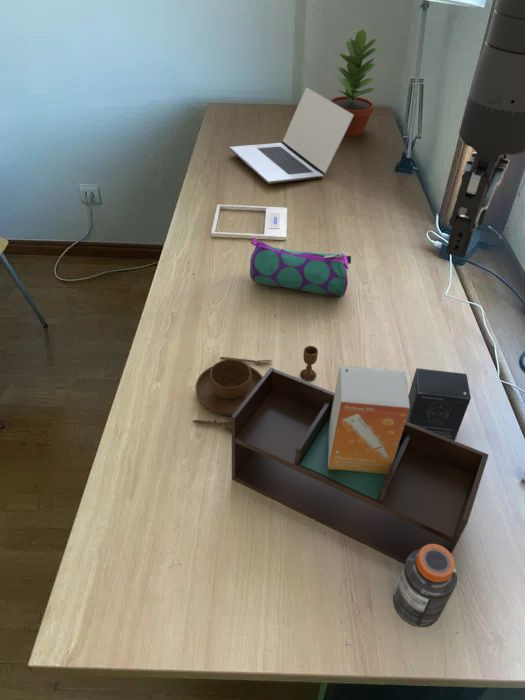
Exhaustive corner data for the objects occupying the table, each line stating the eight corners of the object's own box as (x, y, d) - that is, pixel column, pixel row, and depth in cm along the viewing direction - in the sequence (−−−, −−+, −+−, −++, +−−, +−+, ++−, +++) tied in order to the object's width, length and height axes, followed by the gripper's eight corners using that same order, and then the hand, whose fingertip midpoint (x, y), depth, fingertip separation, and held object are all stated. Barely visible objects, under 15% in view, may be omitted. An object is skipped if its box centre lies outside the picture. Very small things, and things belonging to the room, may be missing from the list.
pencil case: (347, 281, 123) (354, 243, 116) (344, 305, 116) (350, 266, 110) (254, 268, 125) (255, 230, 119) (245, 291, 119) (246, 251, 113)
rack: (459, 515, 80) (488, 454, 71) (438, 580, 73) (467, 522, 63) (267, 430, 91) (270, 367, 81) (231, 479, 83) (231, 416, 74)
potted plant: (331, 139, 183) (343, 36, 163) (323, 122, 194) (333, 24, 174) (376, 139, 184) (393, 37, 164) (365, 122, 195) (380, 25, 175)
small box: (327, 470, 73) (339, 401, 64) (327, 432, 77) (338, 363, 69) (390, 476, 72) (411, 407, 64) (386, 438, 77) (405, 369, 68)
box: (450, 418, 94) (467, 372, 87) (453, 444, 90) (472, 399, 83) (402, 412, 94) (416, 366, 87) (403, 438, 90) (418, 392, 83)
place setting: (209, 354, 104) (208, 329, 100) (316, 368, 102) (320, 344, 98) (184, 425, 91) (181, 400, 87) (307, 443, 89) (310, 418, 85)
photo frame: (286, 236, 134) (211, 232, 134) (286, 240, 135) (211, 236, 135) (287, 207, 145) (217, 203, 145) (286, 210, 146) (217, 207, 146)
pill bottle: (435, 582, 73) (458, 536, 65) (444, 630, 68) (470, 586, 61) (388, 580, 73) (406, 533, 65) (395, 627, 68) (415, 583, 61)
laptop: (229, 150, 170) (233, 88, 159) (298, 144, 180) (306, 86, 169) (267, 185, 153) (275, 119, 142) (341, 176, 163) (354, 114, 152)
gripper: (536, 125, 50) (483, 276, 61) (557, 84, 60) (508, 221, 70) (452, 108, 53) (415, 256, 63) (485, 71, 62) (449, 206, 73)
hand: (464, 238), depth 67 cm, fingers open, 8 cm apart
